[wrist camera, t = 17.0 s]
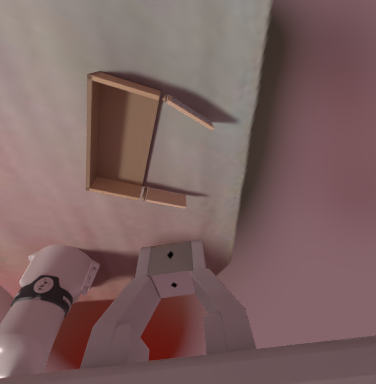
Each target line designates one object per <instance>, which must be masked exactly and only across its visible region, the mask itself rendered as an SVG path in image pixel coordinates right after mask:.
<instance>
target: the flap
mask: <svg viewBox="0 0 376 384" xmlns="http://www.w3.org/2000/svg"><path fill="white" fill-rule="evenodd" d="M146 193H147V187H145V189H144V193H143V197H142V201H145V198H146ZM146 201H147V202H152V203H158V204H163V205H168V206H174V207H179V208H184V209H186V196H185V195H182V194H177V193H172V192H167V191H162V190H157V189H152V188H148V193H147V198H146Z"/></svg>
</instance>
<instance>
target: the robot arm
mask: <svg viewBox="0 0 376 384" xmlns="http://www.w3.org/2000/svg"><path fill="white" fill-rule="evenodd" d="M28 258H29V260H30V262H31V263H30V264H29V266H28V268H27V269H26V271H25V273H24V274H23V276H22V278H21V280H20V282H19V283H20V285H21V287H22V288H21V289H20V291H19V292H18V294H16V296H15V297H14V300H13V302H12V304H11V309H10V310H9V312H8V313H7V315H6V316H5V318H4V320H3V321H2V323H1V324H0V384H376V335H375V336H366V337H357V338H349V339H340V340H331V341H322V342H314V343H304V344H296V345H287V346H279V347H270V348H261V349H256V346H255V342H254V338H253V334H252V331H251V327H250V323H249V320H248V316H247V312H246V308H245V307H244V306H243V305H242V304H241V303H240V302H239V301H238V300H237V299H236V298H235V296H234V295H233V294H232V293H231V292H230V291H229V290H228V289H227V288H226V287H225V285H224V284H222V282H221V281H220V280H219V279H218V278H217V277H216V276H215V275H214V273H213V272H212V271H211V270H210V269H207V267H206V261H205V255H204V249H203V243H202V239H199V240H192V241H185V242H178V243H172V244H167V245H158V246H150V247H142V248H141V250H140V253H139V259H138V264H137V269H136V275H135V279H131V280H130V282H129V283H128V284H127V285H126V287H125V288H124V289H123V290H122V292H121V293H120V294H119V295H118V297H117V298H116V299H115V300H114V302H113V303H112V304H111V305H110V306H109V308H108V309H107V310H106V311H105V313H104V314H103V315H102V316H101V318H100V319H99V320H98V321H97V323H96V324H95V325H94V326H93V328H92V332H91V335H90V338H89V341H88V345H87V348H86V351H85V354H84V358H83V361H82V364H81V367H80V369H76V370H67V371H58V372H50V373H44V370H45V367H46V363H47V359H48V356H49V353H50V350H51V347H52V345H53V342H54V340H55V337H56V335H57V332H58V330H59V328H60V325H61V323H62V320H63V318H64V317H65V316H66V315H67V313H68V312H69V310H70V308H71V306H72V304H73V303H75V302H77V301H78V299H79V296H80V294H82V295H86V294H87V292H88V290H89V289H90V287H91V285H92V283H93V280H94V278H95V276H96V274H97V271H98V269H99V267H100V264H99V263H97V262H96V261H94V260H92V259H91V258H90V257H89V256H88V255H87V254H85V253H84V252H82V251H81V250H79V249H77V248H74V247H71V246H66V245H51V246H47V247H45V248H43V249H41V250H40V251H39V252H37V253H34V254H31V255H29V257H28ZM94 267H95V268H94ZM188 294H196V296H197V297H198V298H199V300H200V301H201V303H202V304H203V306H204V307H205V309H206V310H207V312H208V313H209V314H206V315H205V317H204V330H205V341H206V352H207V355H200V356H191V357H182V358H173V359H164V360H155V361H148V358H149V349H148V348H147V346H146V345H145V344H144V342H143V341H142V340H141V338H140V336H141V335H142V333H143V331H144V329H145V327H146V325H147V323H148V322H149V320H150V318H151V316H152V314H153V313H154V311H155V309H156V307H157V305H158V303H159V301H160V298H166V297H172V296H178V295H188Z"/></svg>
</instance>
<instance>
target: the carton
mask: <svg viewBox="0 0 376 384" xmlns="http://www.w3.org/2000/svg"><path fill="white" fill-rule="evenodd" d="M160 94H161V90H157V89H154V88H151V87H148V86H145V85H141V84H138V83H135V82H132V81H128V80H125V79H122V78H119V77H116V76H112V75H109V74H106V73H103V72H100V71H98V72H94V73H90V74H88V75H87V158H86V190H88V191H93V192H98V193H103V194H108V195H114V196H119V197H124V198H129V199H134V200H139V197H140V193H141V189H142V185H143V180H144V175H145V170H146V165H147V160H148V155H149V150H150V145H151V139H152V134H153V129H154V124H155V119H156V114H157V109H158V104H159V99H160Z"/></svg>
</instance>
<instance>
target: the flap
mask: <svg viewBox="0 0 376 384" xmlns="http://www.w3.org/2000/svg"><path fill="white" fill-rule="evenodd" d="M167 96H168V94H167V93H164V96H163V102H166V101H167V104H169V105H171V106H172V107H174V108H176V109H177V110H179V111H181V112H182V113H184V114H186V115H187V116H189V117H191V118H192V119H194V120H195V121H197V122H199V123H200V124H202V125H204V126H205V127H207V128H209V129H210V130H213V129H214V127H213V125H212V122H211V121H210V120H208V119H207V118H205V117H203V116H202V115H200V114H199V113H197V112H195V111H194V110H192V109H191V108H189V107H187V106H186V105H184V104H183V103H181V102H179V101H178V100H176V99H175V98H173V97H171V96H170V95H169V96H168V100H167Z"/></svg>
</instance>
